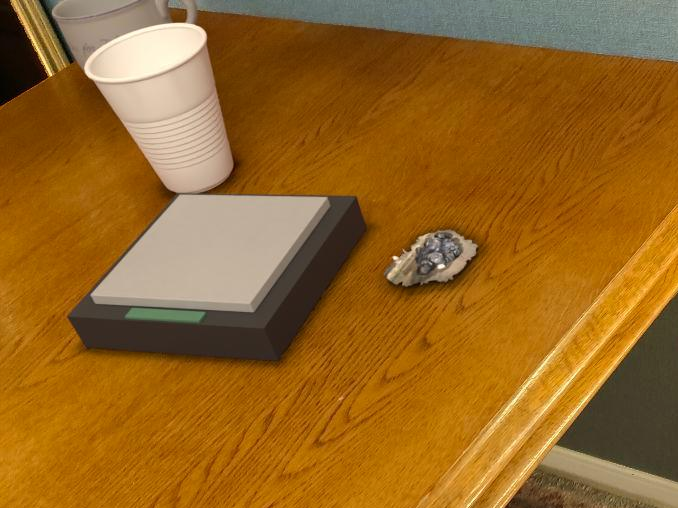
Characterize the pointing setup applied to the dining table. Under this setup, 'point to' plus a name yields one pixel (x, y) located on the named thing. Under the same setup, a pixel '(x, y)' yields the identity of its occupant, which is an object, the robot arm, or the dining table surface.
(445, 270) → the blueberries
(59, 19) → the teacup
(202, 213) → the scale
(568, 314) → the dining table surface
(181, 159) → the cup
